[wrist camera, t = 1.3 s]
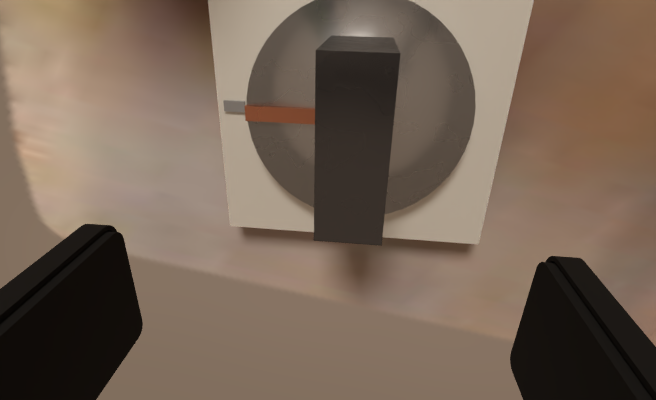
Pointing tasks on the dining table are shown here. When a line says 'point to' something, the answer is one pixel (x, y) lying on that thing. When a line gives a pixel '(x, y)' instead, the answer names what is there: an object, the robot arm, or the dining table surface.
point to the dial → (360, 110)
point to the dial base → (433, 210)
